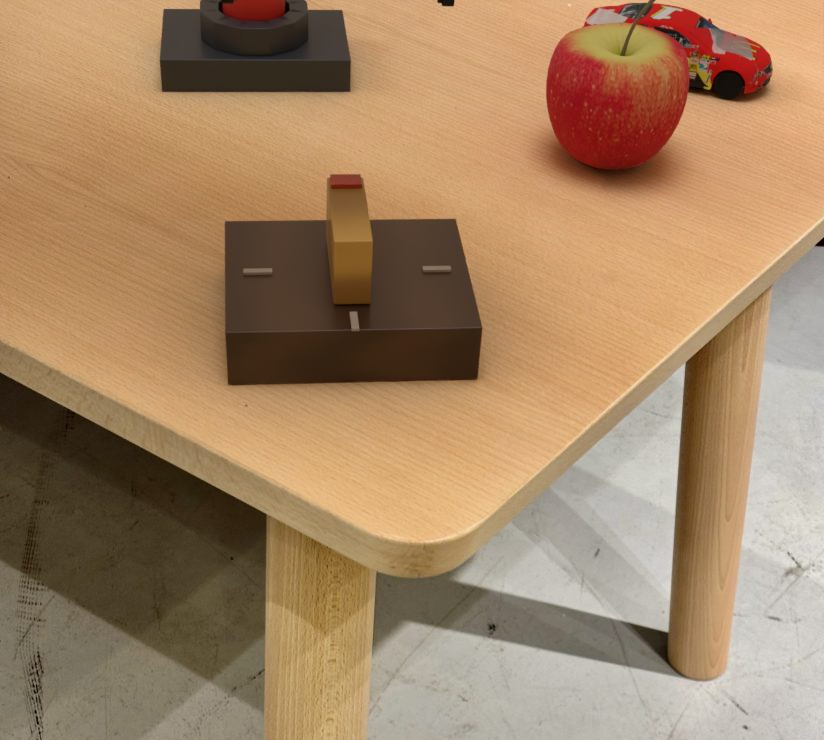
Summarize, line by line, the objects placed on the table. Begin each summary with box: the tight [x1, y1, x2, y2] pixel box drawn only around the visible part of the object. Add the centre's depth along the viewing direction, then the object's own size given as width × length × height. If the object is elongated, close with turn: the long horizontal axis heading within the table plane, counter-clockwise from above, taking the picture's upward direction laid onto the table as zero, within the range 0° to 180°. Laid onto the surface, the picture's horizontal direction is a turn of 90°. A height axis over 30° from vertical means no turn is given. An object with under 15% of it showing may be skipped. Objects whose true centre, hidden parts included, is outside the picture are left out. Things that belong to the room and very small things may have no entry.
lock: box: [325, 173, 373, 305], centre depth 67 cm, size 6×2×4 cm, turn 6°
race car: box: [582, 2, 774, 100], centre depth 93 cm, size 13×5×4 cm, turn 69°
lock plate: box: [224, 218, 483, 385], centre depth 69 cm, size 12×10×3 cm
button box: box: [159, 0, 352, 93], centre depth 90 cm, size 12×8×4 cm, turn 96°
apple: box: [545, 0, 690, 171], centre depth 81 cm, size 8×8×10 cm
